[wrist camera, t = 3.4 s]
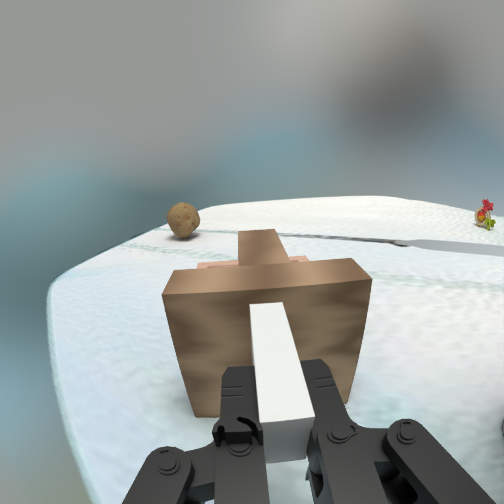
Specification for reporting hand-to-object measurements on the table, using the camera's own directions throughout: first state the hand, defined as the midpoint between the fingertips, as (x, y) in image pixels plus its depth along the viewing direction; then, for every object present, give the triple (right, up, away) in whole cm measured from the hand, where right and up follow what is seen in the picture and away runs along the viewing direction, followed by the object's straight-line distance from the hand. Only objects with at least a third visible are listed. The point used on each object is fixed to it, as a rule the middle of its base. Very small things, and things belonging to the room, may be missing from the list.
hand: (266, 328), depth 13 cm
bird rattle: (+84, +12, +61) cm, 105 cm away
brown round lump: (-19, +7, +64) cm, 67 cm away
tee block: (+1, -9, +16) cm, 18 cm away
